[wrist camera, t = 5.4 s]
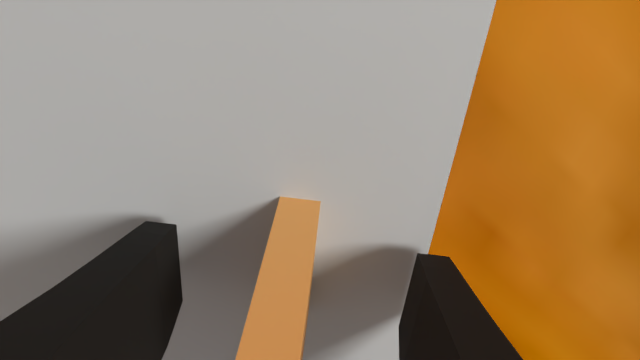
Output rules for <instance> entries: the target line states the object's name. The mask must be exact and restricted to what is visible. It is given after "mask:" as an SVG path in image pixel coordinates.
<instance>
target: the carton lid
mask: <svg viewBox="0 0 640 360" xmlns="http://www.w3.org/2000/svg"><path fill="white" fill-rule="evenodd" d="M495 3H496V0H0V321H1V320H3V319H4V318H6V317H8V316H9V315H11V314H12V313H14V312H15V311H17V310H18V309H20V308H21V307H23V306H25V305H26V304H28V303H29V302H31V301H32V300H34V299H35V298H37V297H39V296H40V295H42V294H43V293H45V292H46V291H48V290H49V289H51V288H52V287H54V286H55V285H57V284H58V283H60V282H61V281H62V280H64V279H65V278H67V277H68V276H70V275H71V274H72V273H74V272H75V271H77V270H78V269H80V268H81V267H82V266H84V265H85V264H87V263H88V262H89V261H91V260H92V259H94V258H95V257H96V256H98V255H99V254H101V253H102V252H103V251H105V250H106V249H107V248H109V247H110V246H112V245H113V244H114V243H116V242H117V241H118V240H120V239H121V238H123V237H124V236H125V235H127V234H128V233H129V232H131V231H132V230H134V229H135V228H136V227H138V226H139V225H141V224H142V223H144V222H145V221H150V222H159V223H167V224H176V225H177V236H178V248H179V261H180V273H181V285H182V297H183V302H182V305H181V308H180V311H179V314H178V317H177V320H176V323H175V326H174V329H173V332H172V335H171V338H170V341H169V343H168V346H167V349H166V351H165V353H164V355H163V358H162V360H399V323H400V319H401V315H402V311H403V307H404V303H405V299H406V296H407V292H408V288H409V284H410V280H411V276H412V272H413V268H414V264H415V260H416V256H417V253H421V254H428V251H429V248H430V244H431V240H432V237H433V233H434V229H435V225H436V222H437V218H438V214H439V211H440V207H441V203H442V200H443V196H444V192H445V188H446V185H447V181H448V177H449V174H450V170H451V166H452V163H453V159H454V155H455V151H456V148H457V144H458V140H459V137H460V133H461V129H462V125H463V122H464V118H465V114H466V111H467V107H468V103H469V100H470V96H471V92H472V88H473V85H474V81H475V77H476V74H477V70H478V66H479V63H480V59H481V55H482V51H483V48H484V44H485V40H486V37H487V33H488V29H489V26H490V22H491V18H492V14H493V11H494V7H495Z"/></svg>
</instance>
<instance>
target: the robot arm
mask: <svg viewBox="0 0 640 360" xmlns="http://www.w3.org/2000/svg"><path fill="white" fill-rule="evenodd" d="M182 302H183V297H182V285H181V273H180V261H179V248H178V236H177V225H176V224H167V223H159V222H150V221H145V222H144V223H142V224H141V225H139V226H138V227H136V228H135V229H134V230H132V231H131V232H129V233H128V234H127V235H125V236H124V237H123V238H121V239H120V240H118V241H117V242H116V243H114V244H113V245H112V246H110V247H109V248H107V249H106V250H105V251H103V252H102V253H101V254H99V255H98V256H96V257H95V258H94V259H92V260H91V261H89V262H88V263H87V264H85V265H84V266H82V267H81V268H80V269H78V270H77V271H75V272H74V273H72V274H71V275H70V276H68V277H67V278H65V279H64V280H62V281H61V282H60V283H58V284H57V285H55V286H54V287H52V288H51V289H49V290H48V291H46V292H45V293H43V294H42V295H40V296H39V297H37V298H35V299H34V300H32V301H31V302H29V303H28V304H26V305H25V306H23V307H21V308H20V309H18V310H17V311H15V312H14V313H12V314H11V315H9V316H8V317H6V318H4V319H3V320H1V321H0V360H162V358H163V355H164V353H165V351H166V349H167V346H168V343H169V341H170V338H171V335H172V332H173V329H174V326H175V323H176V320H177V317H178V314H179V311H180V308H181V305H182ZM399 360H523V359H522V357H521V356H520V355H519V354H518V352H517V351H516V350H515V348H514V347H513V346H512V344H511V343H510V342H509V340H508V339H507V338H506V336H505V335H504V334H503V332H502V331H501V330H500V328H499V327H498V326H497V324H496V323H495V322H494V320H493V319H492V318H491V316H490V315H489V313H488V312H487V311H486V309H485V308H484V306H483V305H482V304H481V302H480V301H479V299H478V298H477V296H476V295H475V294H474V292H473V291H472V289H471V288H470V286H469V285H468V283H467V282H466V280H465V279H464V278H463V276H462V275H461V273H460V272H459V270H458V269H457V267H456V266H455V265H454V263H453V262H452V260H451V259H450V258H449V257H446V256H438V255H429V254H421V253H417V256H416V260H415V264H414V268H413V272H412V276H411V280H410V284H409V288H408V292H407V296H406V299H405V303H404V307H403V311H402V315H401V319H400V323H399Z"/></svg>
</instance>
